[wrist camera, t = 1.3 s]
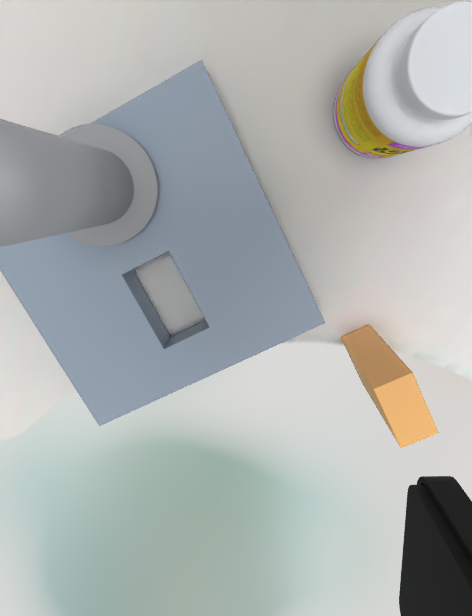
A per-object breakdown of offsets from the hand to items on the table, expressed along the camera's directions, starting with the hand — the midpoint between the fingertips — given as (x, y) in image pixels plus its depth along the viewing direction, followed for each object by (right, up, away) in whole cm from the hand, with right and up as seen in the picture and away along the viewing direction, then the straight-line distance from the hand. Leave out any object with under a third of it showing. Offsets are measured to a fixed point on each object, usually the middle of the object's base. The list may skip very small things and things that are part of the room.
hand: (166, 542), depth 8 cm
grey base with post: (-5, +9, +27) cm, 29 cm away
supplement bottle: (+12, +19, +24) cm, 33 cm away
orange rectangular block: (+12, +1, +28) cm, 31 cm away
